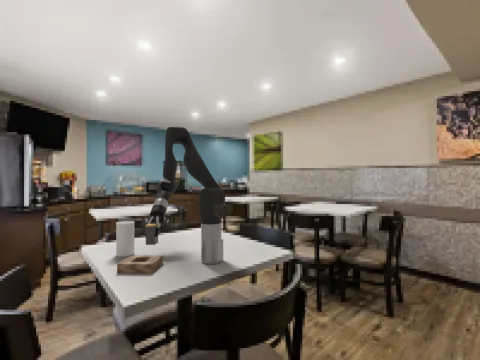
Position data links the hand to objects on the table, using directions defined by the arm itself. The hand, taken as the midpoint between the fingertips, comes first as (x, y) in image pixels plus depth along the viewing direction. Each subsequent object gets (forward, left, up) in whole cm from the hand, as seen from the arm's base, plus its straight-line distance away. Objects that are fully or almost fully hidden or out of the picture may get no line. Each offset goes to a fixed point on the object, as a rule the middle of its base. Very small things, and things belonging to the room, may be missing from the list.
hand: (150, 235), depth 119 cm
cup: (+16, 0, -10) cm, 19 cm away
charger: (+1, -2, -4) cm, 5 cm away
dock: (-7, +13, -10) cm, 18 cm away
